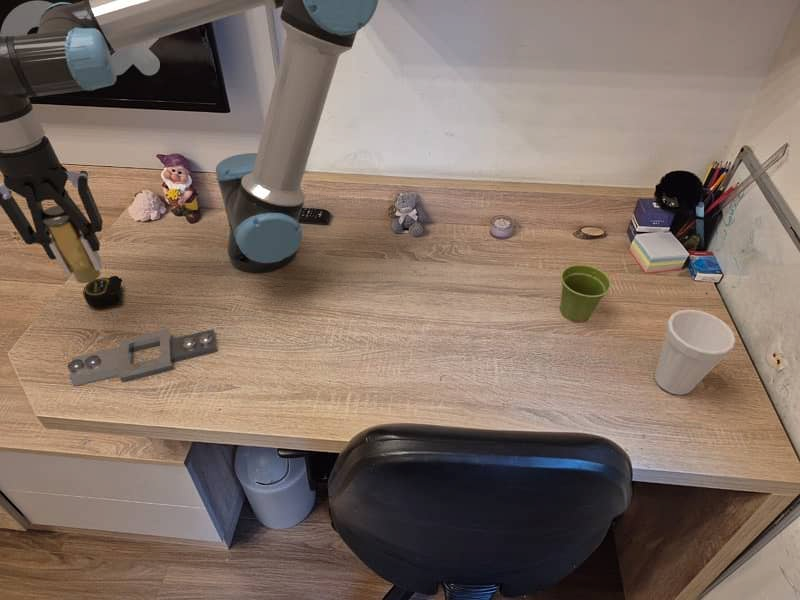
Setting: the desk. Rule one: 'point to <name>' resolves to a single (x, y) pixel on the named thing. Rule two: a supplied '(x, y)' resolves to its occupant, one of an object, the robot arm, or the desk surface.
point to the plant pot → (582, 291)
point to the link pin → (70, 244)
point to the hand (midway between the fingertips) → (84, 267)
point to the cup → (691, 349)
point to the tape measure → (103, 292)
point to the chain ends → (122, 361)
